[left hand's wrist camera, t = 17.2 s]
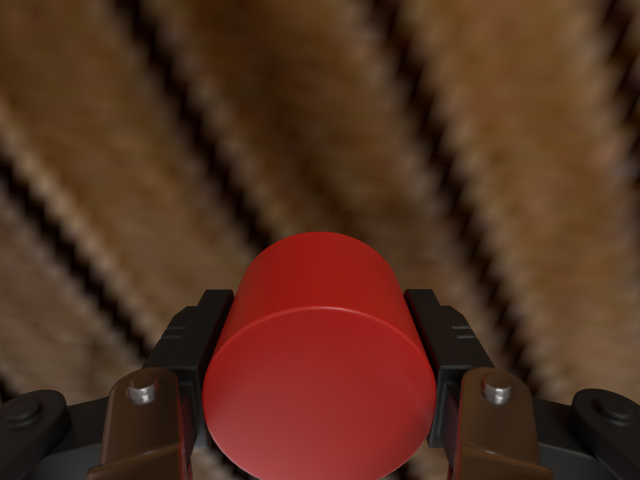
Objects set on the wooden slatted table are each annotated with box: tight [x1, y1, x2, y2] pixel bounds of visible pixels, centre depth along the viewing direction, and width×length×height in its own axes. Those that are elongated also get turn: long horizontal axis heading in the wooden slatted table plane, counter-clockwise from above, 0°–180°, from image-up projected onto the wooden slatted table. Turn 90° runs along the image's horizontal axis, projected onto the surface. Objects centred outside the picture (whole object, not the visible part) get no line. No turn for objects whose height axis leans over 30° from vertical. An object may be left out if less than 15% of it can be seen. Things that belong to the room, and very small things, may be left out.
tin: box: [202, 232, 437, 480], centre depth 11 cm, size 5×5×4 cm
